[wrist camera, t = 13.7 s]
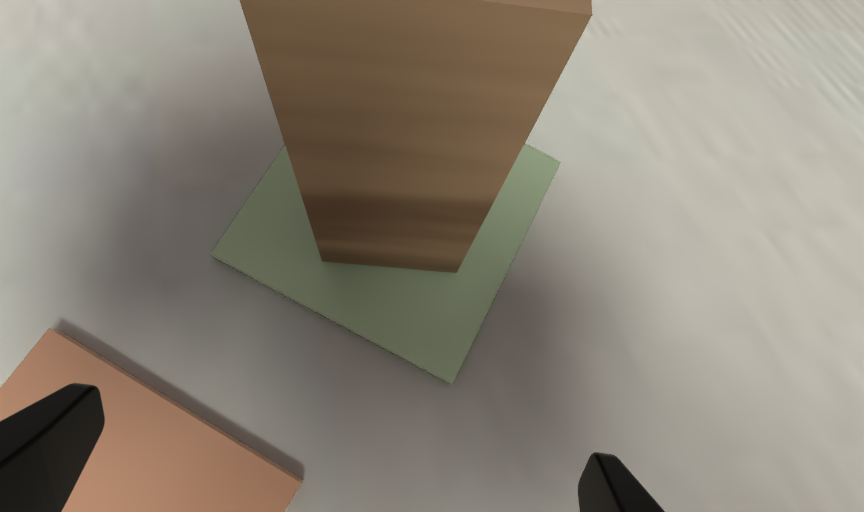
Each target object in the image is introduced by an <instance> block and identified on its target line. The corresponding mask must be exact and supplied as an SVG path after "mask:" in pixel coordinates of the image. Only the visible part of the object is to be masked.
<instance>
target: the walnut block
mask: <svg viewBox="0 0 864 512" xmlns="http://www.w3.org/2000/svg"><path fill="white" fill-rule="evenodd" d="M240 3H241V6H242V9H243V12H244V15H245V18H246V22H247V25H248V28H249V31H250V34H251V37H252V41H253V44H254V47H255V50H256V53H257V57H258V60H259V63H260V66H261V69H262V72H263V76H264V79H265V82H266V85H267V88H268V92H269V95H270V98H271V101H272V104H273V107H274V111H275V114H276V117H277V120H278V123H279V126H280V130H281V133H282V136H283V139H284V142H285V146H286V149H287V152H288V155H289V158H290V161H291V165H292V168H293V171H294V174H295V177H296V181H297V184H298V187H299V190H300V193H301V196H302V200H303V203H304V206H305V209H306V212H307V215H308V219H309V222H310V225H311V228H312V231H313V235H314V238H315V241H316V244H317V247H318V250H319V254H320V257H321V260H322V261H323V262H334V263H346V264H358V265H370V266H381V267H393V268H405V269H417V270H428V271H440V272H452V273H457V271H458V269H459V268H460V266H461V264H462V262H463V260H464V258H465V256H466V254H467V252H468V250H469V248H470V247H471V245H472V243H473V241H474V239H475V237H476V235H477V233H478V231H479V229H480V227H481V226H482V224H483V222H484V220H485V218H486V216H487V214H488V212H489V210H490V208H491V207H492V205H493V203H494V201H495V199H496V197H497V195H498V193H499V191H500V189H501V187H502V186H503V184H504V182H505V180H506V178H507V176H508V174H509V172H510V170H511V168H512V166H513V165H514V163H515V161H516V159H517V157H518V155H519V153H520V151H521V149H522V147H523V146H524V144H525V142H526V140H527V138H528V136H529V134H530V132H531V130H532V128H533V126H534V125H535V123H536V121H537V119H538V117H539V115H540V113H541V111H542V109H543V107H544V105H545V104H546V102H547V100H548V98H549V96H550V94H551V92H552V90H553V88H554V86H555V85H556V83H557V81H558V79H559V77H560V75H561V73H562V71H563V69H564V67H565V65H566V64H567V62H568V60H569V58H570V56H571V54H572V52H573V50H574V48H575V46H576V44H577V43H578V41H579V39H580V37H581V35H582V33H583V31H584V29H585V27H586V25H587V24H588V22H589V20H590V18H591V16H592V4H591V0H240Z"/></svg>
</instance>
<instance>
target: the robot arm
mask: <svg viewBox="0 0 864 512" xmlns="http://www.w3.org/2000/svg"><path fill="white" fill-rule="evenodd" d="M104 424H105V415H104V410H103V405H102V399H101V394H100V390H99V389H98V387H97V386H94V385H89V384H81V383H72V384H69V385H66V386H65V387H63V388H61V389H59V390H57V391H55V392H53V393H52V394H50V395H48V396H46V397H44V398H42V399H40V400H38V401H37V402H35V403H33V404H31V405H29V406H27V407H25V408H24V409H22V410H20V411H18V412H16V413H14V414H12V415H11V416H9V417H7V418H5V419H3V420H1V421H0V512H62V510H63V508H64V506H65V504H66V503H67V501H68V499H69V497H70V495H71V493H72V491H73V489H74V487H75V485H76V483H77V481H78V479H79V477H80V475H81V473H82V471H83V469H84V467H85V465H86V463H87V461H88V459H89V457H90V455H91V453H92V451H93V449H94V447H95V445H96V443H97V441H98V439H99V437H100V435H101V433H102V431H103V428H104ZM578 498H579V507H580V512H665V511H664V510H663V509H662V508H661V507H660V506H659V504H658V503H657V502H656V501H655V500H654V499H653V497H652V496H651V495H650V494H649V493H648V492H647V491H646V489H645V488H644V487H643V486H642V485H641V484H640V483H639V481H638V480H637V479H636V478H635V477H634V476H633V475H632V473H631V472H630V471H629V470H628V469H627V468H626V467H625V465H624V464H623V463H622V462H621V461H620V460H619V459H618V458H617V457H616V456H615V455H612V454H605V453H598V452H595V453H593V454H592V455H591V456H590V458H589V460H588V462H587V464H586V467H585V469H584V471H583V473H582V475H581V478H580V480H579V484H578Z"/></svg>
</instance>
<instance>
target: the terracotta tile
mask: <svg viewBox="0 0 864 512" xmlns="http://www.w3.org/2000/svg"><path fill="white" fill-rule="evenodd" d="M72 383H81V384H89V385H94V386H97V387H98V389H99V390H100V394H101V399H102V405H103V410H104V415H105V424H104V428H103V431H102V433H101V435H100V437H99V439H98V441H97V443H96V445H95V447H94V449H93V451H92V453H91V455H90V457H89V459H88V461H87V463H86V465H85V467H84V469H83V471H82V473H81V475H80V477H79V479H78V481H77V483H76V485H75V487H74V489H73V491H72V493H71V495H70V497H69V499H68V501H67V503H66V504H65V506H64V508H63V510H62V512H285V510H286V509H287V507H288V505H289V504H290V502H291V500H292V499H293V497H294V495H295V494H296V492H297V490H298V489H299V487H300V485H301V483H302V482H303V480H302V479H301V478H299V477H297V476H296V475H294V474H292V473H291V472H289V471H288V470H286V469H284V468H283V467H281V466H279V465H278V464H276V463H275V462H273V461H271V460H270V459H268V458H266V457H265V456H263V455H261V454H260V453H258V452H257V451H255V450H253V449H252V448H250V447H248V446H247V445H245V444H244V443H242V442H240V441H239V440H237V439H235V438H234V437H232V436H230V435H229V434H227V433H226V432H224V431H222V430H221V429H219V428H217V427H216V426H214V425H213V424H211V423H209V422H208V421H206V420H204V419H203V418H201V417H199V416H198V415H196V414H195V413H193V412H191V411H190V410H188V409H186V408H185V407H183V406H182V405H180V404H178V403H177V402H175V401H173V400H172V399H170V398H168V397H167V396H165V395H164V394H162V393H160V392H159V391H157V390H155V389H154V388H152V387H151V386H149V385H147V384H146V383H144V382H142V381H141V380H139V379H137V378H136V377H134V376H133V375H131V374H129V373H128V372H126V371H124V370H123V369H121V368H120V367H118V366H116V365H115V364H113V363H111V362H110V361H108V360H106V359H105V358H103V357H102V356H100V355H98V354H97V353H95V352H93V351H92V350H90V349H89V348H87V347H85V346H84V345H82V344H80V343H79V342H77V341H75V340H74V339H72V338H71V337H69V336H67V335H66V334H64V333H62V332H61V331H58V330H54V329H50V328H49V329H48V330H47V332H46V333H45V334H44V335H43V337H42V338H41V339H40V340H39V341H38V343H37V344H36V345H35V346H34V348H33V349H32V350H31V351H30V353H29V354H28V355H27V356H26V357H25V359H24V360H23V361H22V362H21V364H20V365H19V366H18V367H17V369H16V370H15V371H14V372H13V373H12V375H11V376H10V377H9V378H8V380H7V381H6V382H5V383H4V385H3V386H2V387H1V388H0V421H1V420H3V419H5V418H7V417H9V416H11V415H12V414H14V413H16V412H18V411H20V410H22V409H24V408H25V407H27V406H29V405H31V404H33V403H35V402H37V401H38V400H40V399H42V398H44V397H46V396H48V395H50V394H52V393H53V392H55V391H57V390H59V389H61V388H63V387H65V386H66V385H69V384H72Z"/></svg>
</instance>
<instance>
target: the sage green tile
mask: <svg viewBox="0 0 864 512" xmlns="http://www.w3.org/2000/svg"><path fill="white" fill-rule="evenodd" d="M560 163H561V162H559V161H557V160H555V159H553V158H551V157H549V156H547V155H545V154H543V153H541V152H539V151H537V150H536V149H534V148H532V147H530V146H528V145H526V144H524V146H523V147H522V149H521V151H520V153H519V155H518V157H517V159H516V161H515V163H514V165H513V166H512V168H511V170H510V172H509V174H508V176H507V178H506V180H505V182H504V184H503V186H502V187H501V189H500V191H499V193H498V195H497V197H496V199H495V201H494V203H493V205H492V207H491V208H490V210H489V212H488V214H487V216H486V218H485V220H484V222H483V224H482V226H481V227H480V229H479V231H478V233H477V235H476V237H475V239H474V241H473V243H472V245H471V247H470V248H469V250H468V252H467V254H466V256H465V258H464V260H463V262H462V264H461V266H460V268H459V269H458V271H457V273H452V272H440V271H428V270H417V269H405V268H393V267H381V266H370V265H358V264H346V263H334V262H323V261H322V260H321V257H320V254H319V250H318V247H317V244H316V241H315V238H314V235H313V231H312V228H311V225H310V222H309V219H308V215H307V212H306V209H305V206H304V203H303V200H302V196H301V193H300V190H299V187H298V184H297V181H296V177H295V174H294V171H293V168H292V165H291V161H290V158H289V155H288V152H287V149H286V146H285V145H284V146H283V148H282V149H281V151H280V152H279V154H278V155H277V157H276V158H275V160H274V161H273V163H272V164H271V165H270V167H269V168H268V170H267V171H266V173H265V174H264V176H263V177H262V179H261V180H260V182H259V183H258V184H257V186H256V187H255V189H254V190H253V192H252V193H251V195H250V196H249V198H248V199H247V201H246V202H245V203H244V205H243V206H242V208H241V209H240V211H239V212H238V214H237V215H236V217H235V218H234V220H233V221H232V222H231V224H230V225H229V227H228V228H227V230H226V231H225V233H224V234H223V236H222V237H221V239H220V240H219V241H218V243H217V244H216V246H215V247H214V249H213V250H212V252H211V253H210V255H211V256H213V257H214V258H216V259H217V260H219V261H221V262H223V263H225V264H227V265H229V266H230V267H232V268H234V269H236V270H238V271H240V272H242V273H244V274H245V275H247V276H249V277H251V278H253V279H255V280H257V281H258V282H260V283H262V284H264V285H266V286H268V287H270V288H272V289H273V290H275V291H277V292H279V293H281V294H283V295H285V296H286V297H288V298H290V299H292V300H294V301H296V302H298V303H300V304H301V305H303V306H305V307H307V308H309V309H311V310H313V311H315V312H316V313H318V314H320V315H322V316H324V317H326V318H328V319H329V320H331V321H333V322H335V323H337V324H339V325H341V326H343V327H344V328H346V329H348V330H350V331H352V332H354V333H356V334H357V335H359V336H361V337H363V338H365V339H367V340H369V341H371V342H372V343H374V344H376V345H378V346H380V347H382V348H384V349H385V350H387V351H389V352H391V353H393V354H395V355H397V356H399V357H400V358H402V359H404V360H406V361H408V362H410V363H412V364H414V365H415V366H417V367H419V368H421V369H423V370H425V371H427V372H428V373H430V374H432V375H434V376H436V377H438V378H440V379H442V380H443V381H445V382H447V383H449V384H453V382H454V380H455V378H456V376H457V374H458V372H459V370H460V368H461V366H462V364H463V362H464V360H465V358H466V356H467V354H468V352H469V350H470V348H471V346H472V343H473V341H474V339H475V337H476V335H477V333H478V331H479V329H480V327H481V325H482V323H483V321H484V319H485V317H486V315H487V313H488V311H489V309H490V306H491V304H492V302H493V300H494V298H495V296H496V294H497V292H498V290H499V288H500V286H501V284H502V282H503V280H504V278H505V276H506V274H507V272H508V269H509V267H510V265H511V263H512V261H513V259H514V257H515V255H516V253H517V251H518V249H519V247H520V245H521V243H522V241H523V239H524V237H525V235H526V232H527V230H528V228H529V226H530V224H531V222H532V220H533V218H534V216H535V214H536V212H537V210H538V208H539V206H540V204H541V202H542V200H543V198H544V196H545V193H546V191H547V189H548V187H549V185H550V183H551V181H552V179H553V177H554V175H555V173H556V171H557V169H558V167H559V165H560Z"/></svg>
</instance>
